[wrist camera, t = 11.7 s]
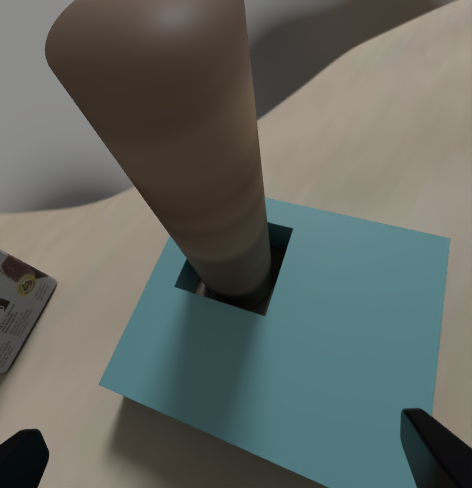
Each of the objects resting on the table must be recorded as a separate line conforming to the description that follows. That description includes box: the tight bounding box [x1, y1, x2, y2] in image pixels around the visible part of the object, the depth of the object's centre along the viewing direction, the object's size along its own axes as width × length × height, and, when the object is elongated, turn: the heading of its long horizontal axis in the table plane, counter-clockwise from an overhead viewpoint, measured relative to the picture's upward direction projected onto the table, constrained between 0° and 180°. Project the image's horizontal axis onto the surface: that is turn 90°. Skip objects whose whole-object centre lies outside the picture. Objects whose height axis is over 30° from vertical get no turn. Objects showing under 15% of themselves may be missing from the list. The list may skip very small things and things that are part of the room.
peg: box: [45, 0, 273, 309], centre depth 13 cm, size 4×4×15 cm
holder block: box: [99, 198, 450, 488], centre depth 17 cm, size 12×14×3 cm
